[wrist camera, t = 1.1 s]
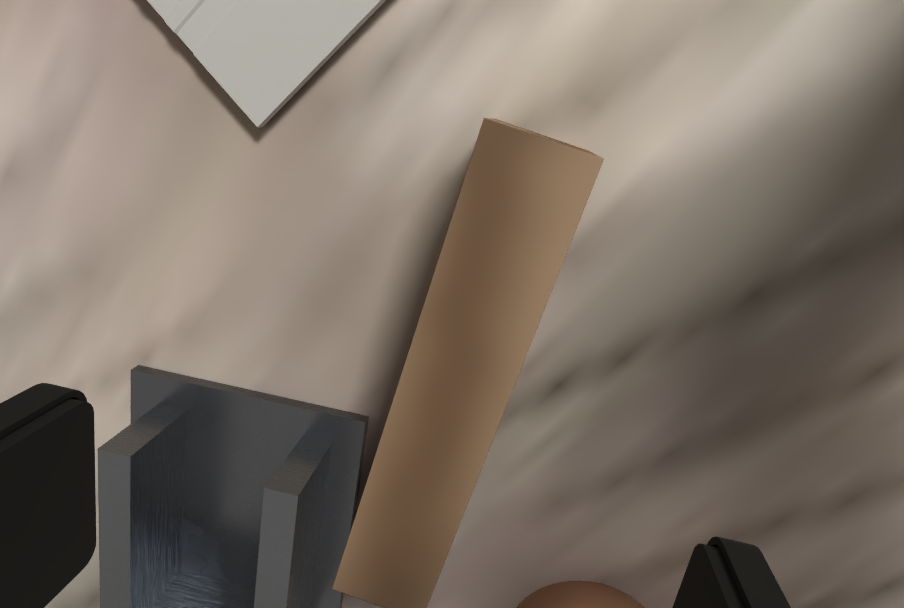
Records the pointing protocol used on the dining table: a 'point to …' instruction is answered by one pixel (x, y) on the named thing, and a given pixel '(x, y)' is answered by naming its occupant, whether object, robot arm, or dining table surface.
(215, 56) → the baseboard molding
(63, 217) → the dining table surface
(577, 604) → the brown round cylinder
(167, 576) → the bracket
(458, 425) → the rail
